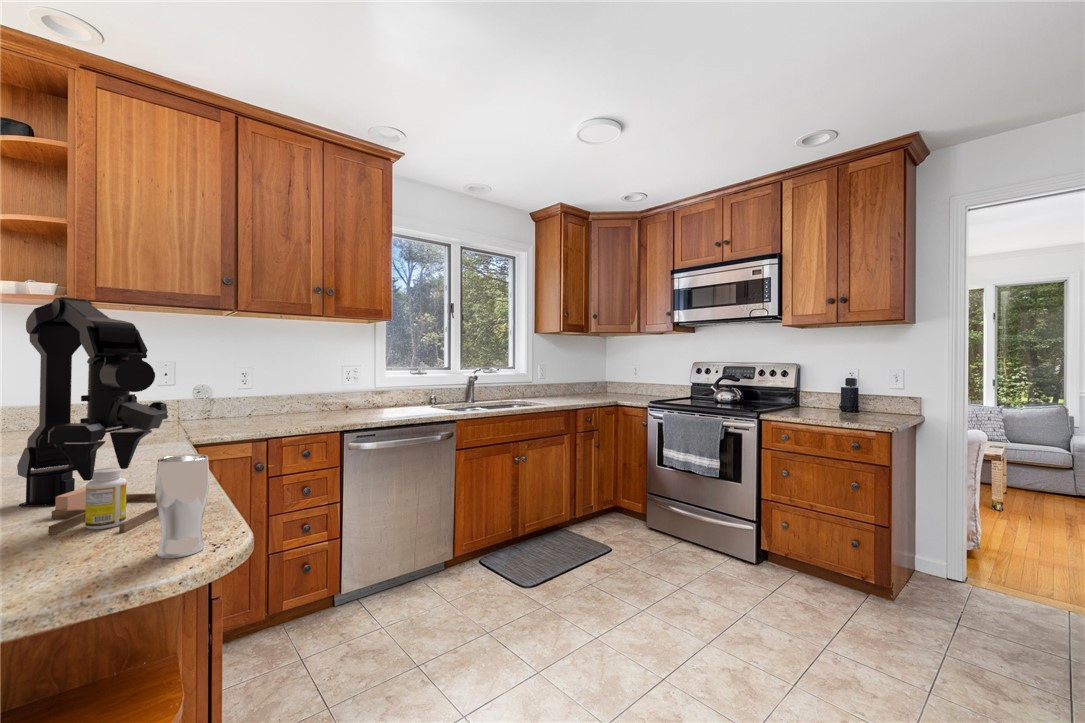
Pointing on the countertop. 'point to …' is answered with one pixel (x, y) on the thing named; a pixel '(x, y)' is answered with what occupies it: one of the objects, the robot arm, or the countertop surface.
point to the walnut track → (78, 516)
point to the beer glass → (181, 503)
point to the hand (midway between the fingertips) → (106, 474)
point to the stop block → (72, 500)
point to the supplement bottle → (105, 499)
